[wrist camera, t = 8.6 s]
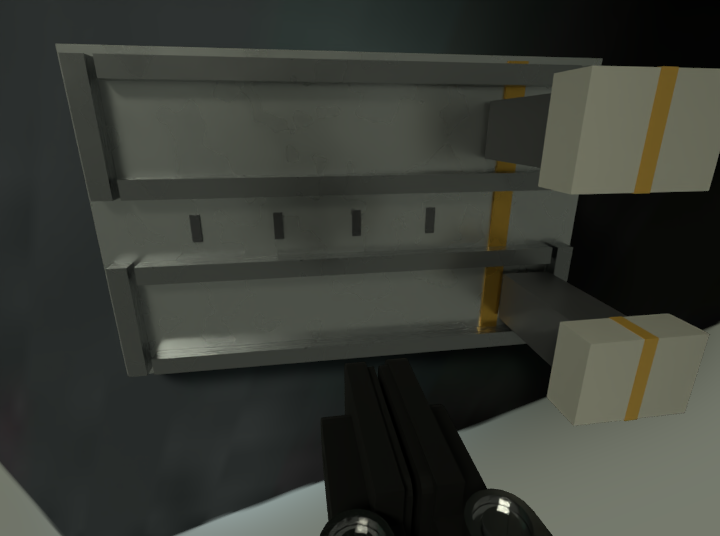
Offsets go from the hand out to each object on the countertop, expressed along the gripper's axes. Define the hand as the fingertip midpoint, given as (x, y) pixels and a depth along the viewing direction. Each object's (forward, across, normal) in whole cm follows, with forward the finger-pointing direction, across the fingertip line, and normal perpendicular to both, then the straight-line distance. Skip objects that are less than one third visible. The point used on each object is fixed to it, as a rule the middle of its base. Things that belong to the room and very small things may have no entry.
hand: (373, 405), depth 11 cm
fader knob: (+9, -10, +1) cm, 13 cm away
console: (+11, -1, -2) cm, 12 cm away
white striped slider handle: (+9, -8, -7) cm, 14 cm away
